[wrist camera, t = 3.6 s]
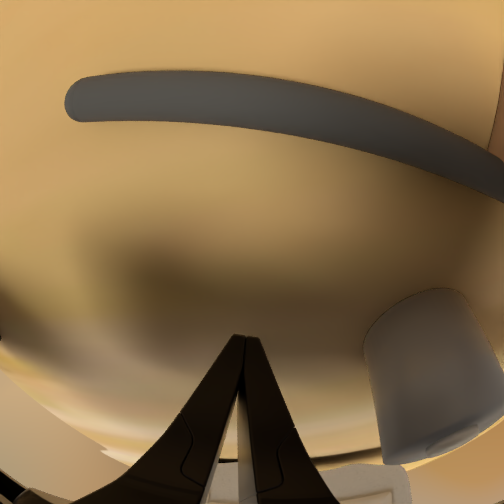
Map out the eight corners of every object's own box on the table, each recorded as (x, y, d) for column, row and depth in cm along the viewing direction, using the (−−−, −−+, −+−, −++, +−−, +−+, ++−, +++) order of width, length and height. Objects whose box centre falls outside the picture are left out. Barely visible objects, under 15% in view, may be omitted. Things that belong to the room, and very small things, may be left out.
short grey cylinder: (345, 366, 11) (358, 478, 7) (396, 280, 9) (450, 426, 4) (429, 365, 11) (455, 455, 7) (484, 292, 9) (538, 393, 4)
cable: (81, 119, 6) (55, 128, 5) (82, 78, 5) (55, 82, 4) (503, 199, 6) (523, 216, 5) (514, 168, 6) (536, 182, 5)
